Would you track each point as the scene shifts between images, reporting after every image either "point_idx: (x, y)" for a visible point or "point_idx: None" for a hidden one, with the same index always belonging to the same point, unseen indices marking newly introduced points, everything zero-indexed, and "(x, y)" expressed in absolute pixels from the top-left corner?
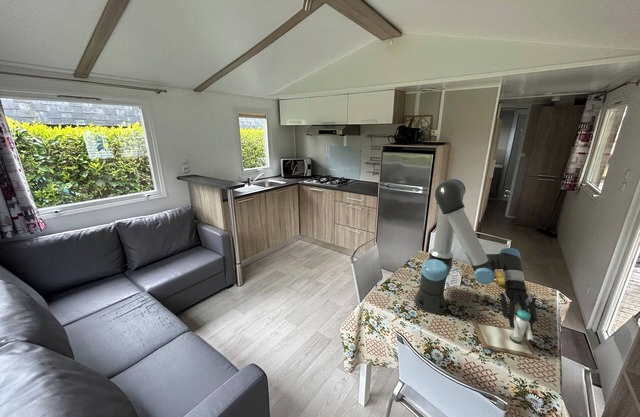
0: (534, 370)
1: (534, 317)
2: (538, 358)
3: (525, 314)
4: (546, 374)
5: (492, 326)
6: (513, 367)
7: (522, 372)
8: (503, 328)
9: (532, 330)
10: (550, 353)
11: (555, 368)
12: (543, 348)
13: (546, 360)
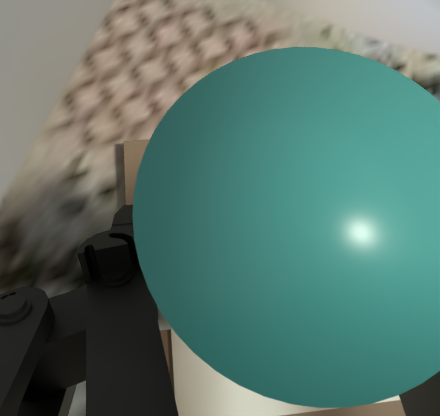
0: (192, 50)
1: (2, 358)
2: (131, 141)
3: (304, 135)
4: (135, 42)
5: (383, 407)
6: (301, 36)
7: (263, 17)
8: (297, 413)
9: (127, 207)
10: (12, 239)
11: (56, 104)
12: (38, 280)
13: (79, 155)
